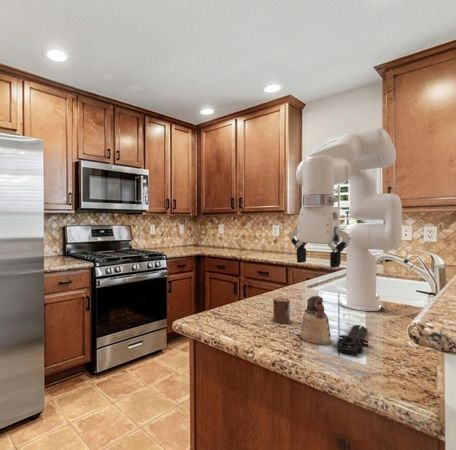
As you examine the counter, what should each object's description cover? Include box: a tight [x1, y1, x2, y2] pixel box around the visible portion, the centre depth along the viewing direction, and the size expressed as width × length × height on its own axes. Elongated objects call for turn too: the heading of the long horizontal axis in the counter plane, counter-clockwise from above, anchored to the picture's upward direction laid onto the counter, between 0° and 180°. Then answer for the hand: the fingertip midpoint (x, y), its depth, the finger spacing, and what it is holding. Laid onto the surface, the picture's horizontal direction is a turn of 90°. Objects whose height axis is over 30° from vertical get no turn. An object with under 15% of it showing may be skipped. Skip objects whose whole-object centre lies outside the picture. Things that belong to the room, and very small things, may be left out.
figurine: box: [300, 295, 331, 345], centre depth 85 cm, size 7×7×12 cm
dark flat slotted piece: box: [336, 324, 369, 357], centre depth 85 cm, size 25×6×1 cm, turn 135°
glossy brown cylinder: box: [272, 297, 291, 325], centre depth 101 cm, size 5×5×7 cm
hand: (317, 264), depth 86 cm, fingers open, 9 cm apart
